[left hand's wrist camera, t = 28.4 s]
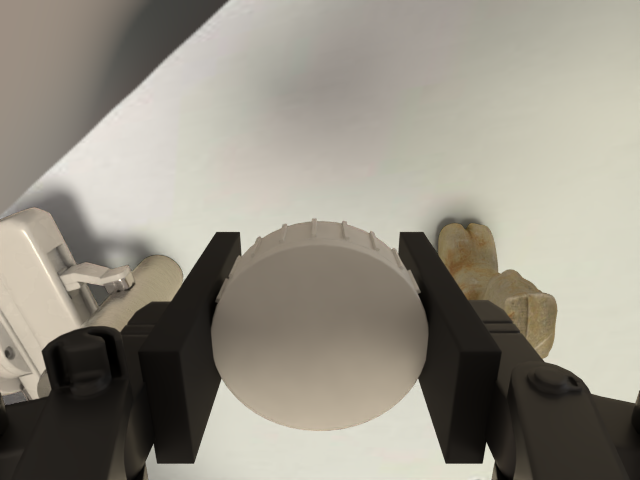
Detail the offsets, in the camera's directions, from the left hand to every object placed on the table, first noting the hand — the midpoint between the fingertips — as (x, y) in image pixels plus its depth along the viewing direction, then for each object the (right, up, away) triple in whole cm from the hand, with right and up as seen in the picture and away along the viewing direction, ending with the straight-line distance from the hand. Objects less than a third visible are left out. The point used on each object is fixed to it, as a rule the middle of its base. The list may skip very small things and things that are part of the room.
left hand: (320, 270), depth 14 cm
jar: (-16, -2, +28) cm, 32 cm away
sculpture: (+13, 0, +27) cm, 30 cm away
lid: (0, -1, -4) cm, 4 cm away
